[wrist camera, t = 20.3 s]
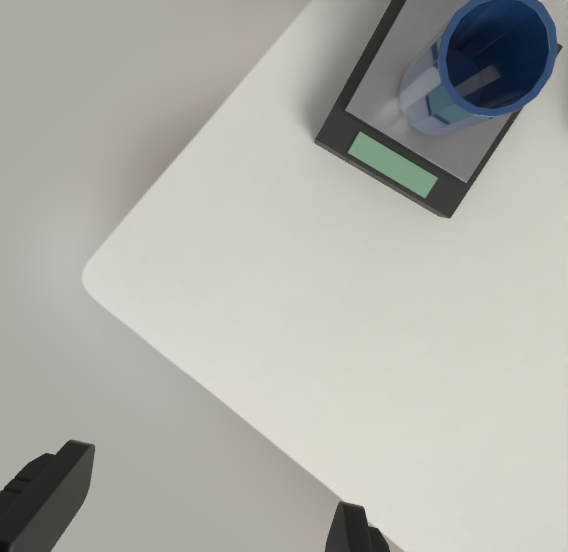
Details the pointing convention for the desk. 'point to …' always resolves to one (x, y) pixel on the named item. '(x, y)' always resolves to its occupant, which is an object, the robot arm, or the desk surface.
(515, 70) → the cup
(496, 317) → the desk surface
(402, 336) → the desk surface
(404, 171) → the scale
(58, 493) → the robot arm
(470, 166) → the scale pan
